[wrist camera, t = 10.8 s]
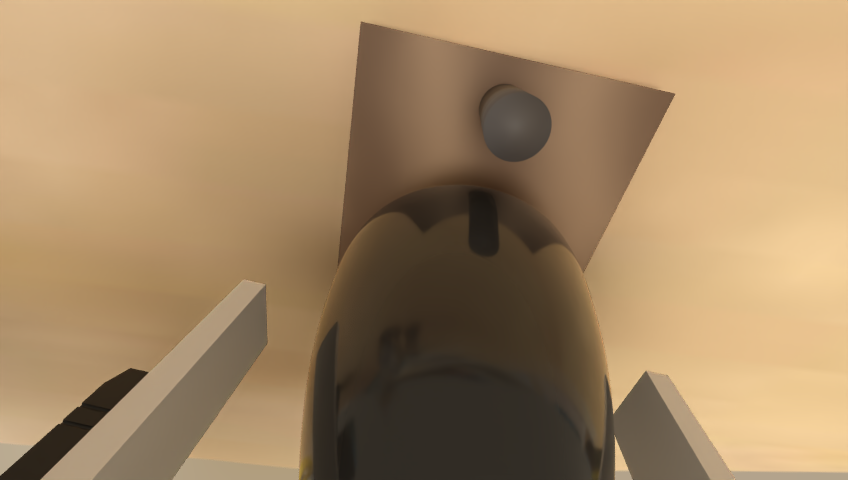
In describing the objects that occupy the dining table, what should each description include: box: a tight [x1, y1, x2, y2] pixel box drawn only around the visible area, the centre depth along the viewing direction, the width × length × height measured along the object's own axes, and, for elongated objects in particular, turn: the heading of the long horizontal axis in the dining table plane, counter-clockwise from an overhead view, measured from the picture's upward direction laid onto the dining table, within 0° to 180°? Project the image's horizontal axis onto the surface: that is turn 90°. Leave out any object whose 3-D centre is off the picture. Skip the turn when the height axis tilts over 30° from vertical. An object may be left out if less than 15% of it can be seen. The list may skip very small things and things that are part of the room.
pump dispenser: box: [299, 185, 615, 480], centre depth 11 cm, size 10×10×15 cm
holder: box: [338, 22, 675, 272], centre depth 17 cm, size 13×19×6 cm
